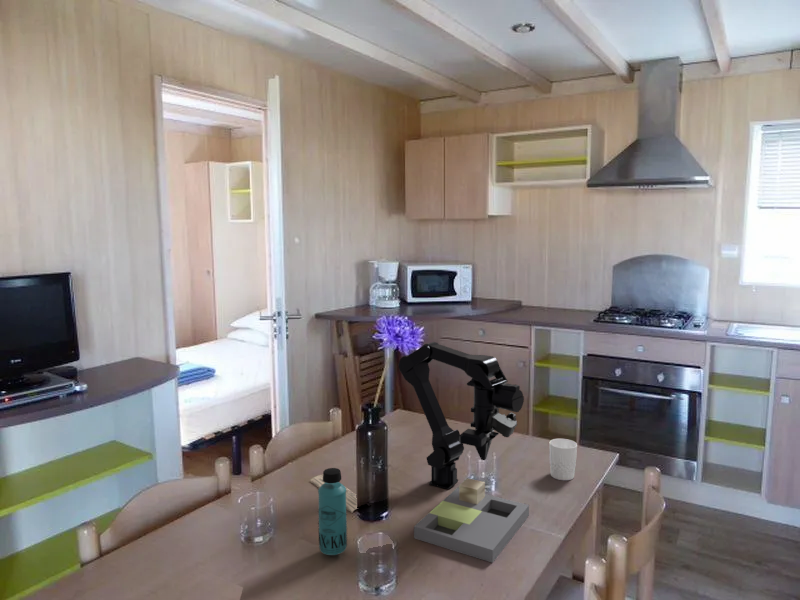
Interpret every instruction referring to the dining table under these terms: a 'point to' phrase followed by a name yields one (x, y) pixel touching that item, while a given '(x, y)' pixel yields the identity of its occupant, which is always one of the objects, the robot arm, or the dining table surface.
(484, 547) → the trap deck
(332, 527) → the beverage bottle
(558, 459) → the white cup
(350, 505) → the newspaper
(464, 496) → the maple block
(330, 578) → the dining table surface
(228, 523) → the dining table surface
